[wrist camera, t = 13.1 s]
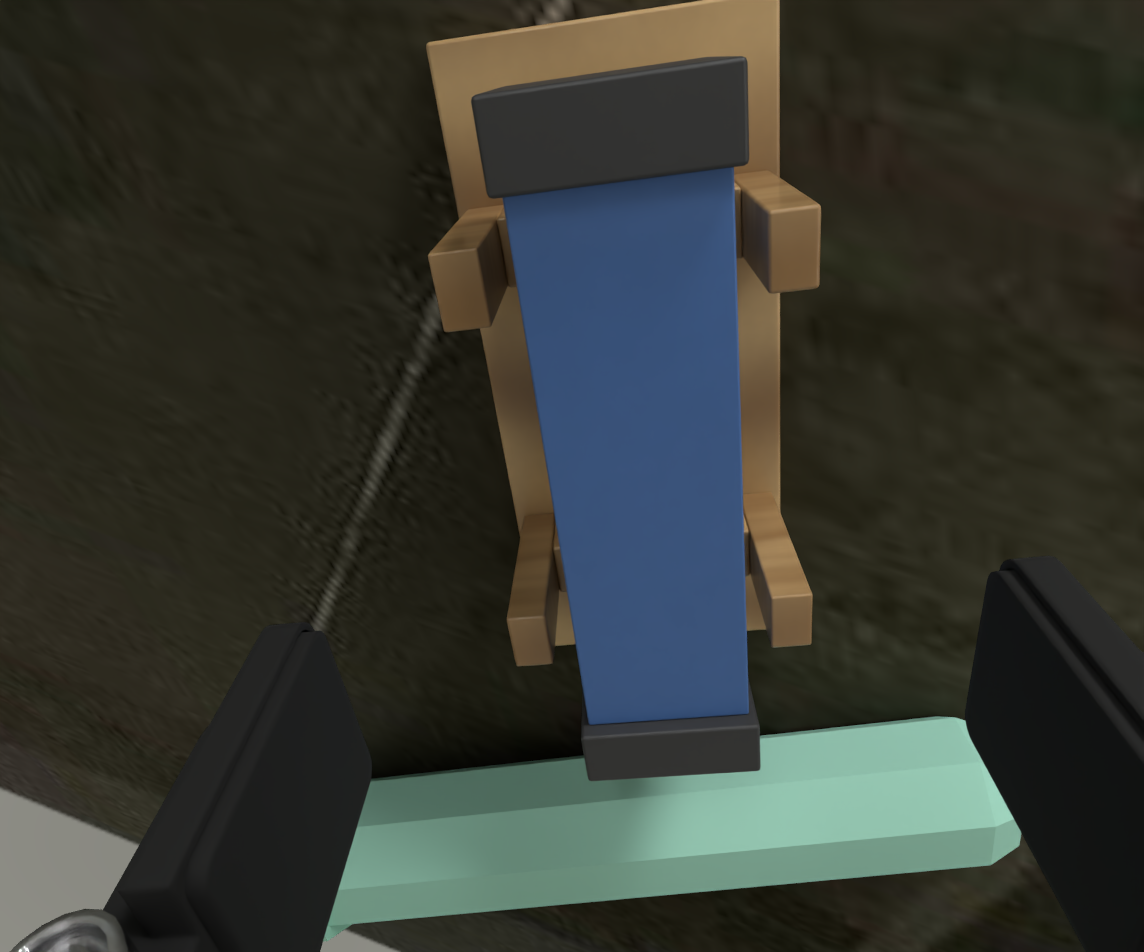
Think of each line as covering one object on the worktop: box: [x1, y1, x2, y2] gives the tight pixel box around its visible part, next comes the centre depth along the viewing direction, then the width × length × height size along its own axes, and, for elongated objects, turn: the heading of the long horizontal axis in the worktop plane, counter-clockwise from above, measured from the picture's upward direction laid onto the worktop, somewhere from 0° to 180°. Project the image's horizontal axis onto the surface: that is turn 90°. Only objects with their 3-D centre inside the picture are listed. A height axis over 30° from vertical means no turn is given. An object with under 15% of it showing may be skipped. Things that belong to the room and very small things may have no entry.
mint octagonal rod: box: [323, 716, 1021, 941], centre depth 28 cm, size 6×6×25 cm
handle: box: [471, 56, 761, 781], centre depth 18 cm, size 16×4×4 cm, turn 7°
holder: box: [426, 0, 821, 666], centre depth 20 cm, size 18×8×6 cm, turn 7°
